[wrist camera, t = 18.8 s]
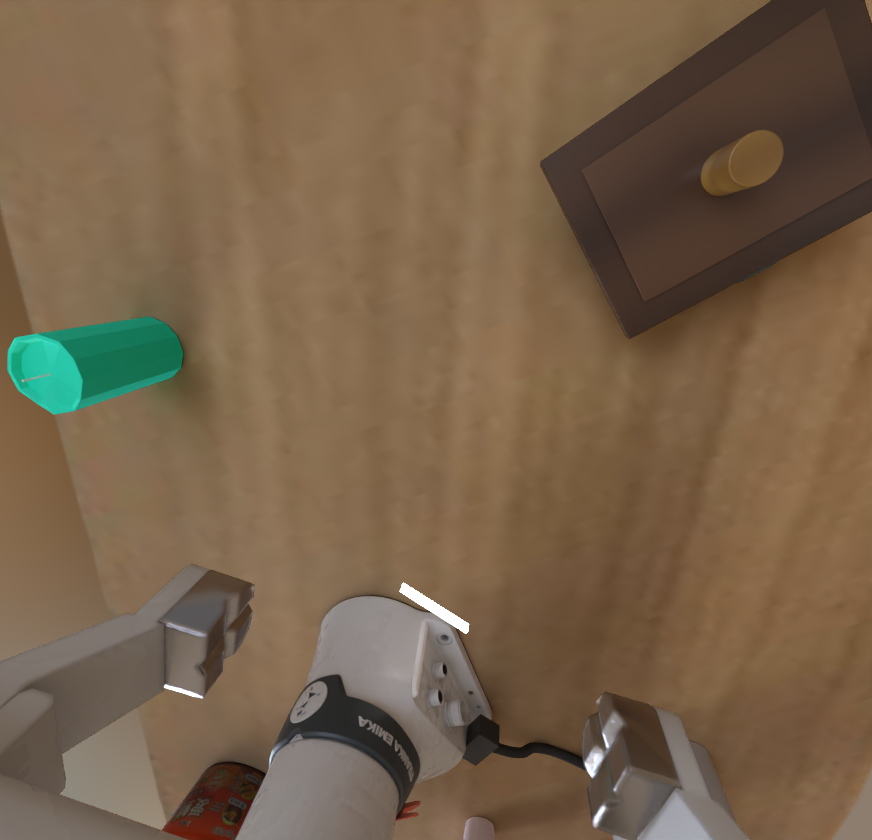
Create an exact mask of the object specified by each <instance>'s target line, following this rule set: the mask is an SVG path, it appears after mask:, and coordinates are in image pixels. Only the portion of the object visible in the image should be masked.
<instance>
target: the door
mask: <svg viewBox="0 0 872 840" xmlns="http://www.w3.org/2000/svg"><path fill="white" fill-rule="evenodd" d="M540 166H541V168H542V170H543V172H544V174H545V176H546V178H547V180H548V182H549V184H550V186H551V188H552V190H553V192H554V194H555V196H556V198H557V200H558V202H559V204H560V206H561V208H562V210H563V212H564V214H565V216H566V218H567V220H568V222H569V224H570V226H571V228H572V230H573V232H574V234H575V236H576V238H577V240H578V242H579V244H580V246H581V248H582V250H583V252H584V254H585V256H586V258H587V260H588V262H589V264H590V266H591V268H592V270H593V272H594V274H595V276H596V278H597V280H598V282H599V284H600V286H601V288H602V290H603V292H604V294H605V296H606V298H607V300H608V302H609V304H610V306H611V308H612V310H613V312H614V314H615V316H616V318H617V320H618V322H619V324H620V326H621V328H622V330H623V332H624V334H625V336H626V337H627V338H629V339H630V338H632V337H634V336H636V335H638V334H640V333H642V332H644V331H646V330H648V329H649V328H651V327H653V326H655V325H657V324H659V323H661V322H663V321H665V320H667V319H668V318H670V317H672V316H674V315H676V314H678V313H680V312H682V311H684V310H686V309H687V308H689V307H691V306H693V305H695V304H697V303H699V302H701V301H703V300H705V299H706V298H708V297H710V296H712V295H714V294H716V293H718V292H720V291H722V290H724V289H725V288H727V287H729V286H731V285H733V284H735V283H737V282H739V281H741V280H743V279H744V278H746V277H748V276H750V275H752V274H754V273H756V272H758V271H760V270H762V269H763V268H765V267H767V266H769V265H771V264H773V263H775V262H777V261H779V260H781V259H782V258H784V257H786V256H788V255H790V254H792V253H794V252H796V251H798V250H800V249H801V248H803V247H805V246H807V245H809V244H811V243H813V242H815V241H817V240H819V239H820V238H822V237H824V236H826V235H828V234H830V233H832V232H834V231H836V230H838V229H839V228H841V227H843V226H845V225H847V224H849V223H851V222H853V221H855V220H856V219H858V218H860V217H862V216H864V215H866V214H868V213H870V212H872V23H871V20H870V17H869V13H868V10H867V7H866V4H865V0H772V1H770V2H769V3H767V4H766V5H764V6H763V7H762V8H760V9H759V10H757V11H756V12H754V13H753V14H751V15H750V16H749V17H747V18H746V19H744V20H743V21H741V22H740V23H739V24H737V25H736V26H734V27H733V28H731V29H730V30H729V31H727V32H726V33H724V34H723V35H721V36H720V37H719V38H717V39H716V40H714V41H713V42H711V43H710V44H708V45H707V46H706V47H704V48H703V49H701V50H700V51H698V52H697V53H696V54H694V55H693V56H691V57H690V58H688V59H687V60H686V61H684V62H683V63H681V64H680V65H678V66H677V67H676V68H674V69H673V70H671V71H670V72H668V73H667V74H666V75H664V76H663V77H661V78H660V79H658V80H657V81H655V82H654V83H653V84H651V85H650V86H648V87H647V88H645V89H644V90H643V91H641V92H640V93H638V94H637V95H635V96H634V97H633V98H631V99H630V100H628V101H627V102H625V103H624V104H623V105H621V106H620V107H618V108H617V109H615V110H614V111H612V112H611V113H610V114H608V115H607V116H605V117H604V118H602V119H601V120H600V121H598V122H597V123H595V124H594V125H592V126H591V127H590V128H588V129H587V130H585V131H584V132H582V133H581V134H580V135H578V136H577V137H575V138H574V139H572V140H571V141H569V142H568V143H567V144H565V145H564V146H562V147H561V148H559V149H558V150H557V151H555V152H554V153H552V154H551V155H549V156H548V157H547V158H545V159H544V160H542V161H541V163H540Z"/></svg>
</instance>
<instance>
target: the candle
mask: <svg viewBox="0 0 872 840" xmlns="http://www.w3.org/2000/svg"><path fill="white" fill-rule="evenodd" d="M182 359H183V350H182V348H181V345H180V342H179V339H178V336H177V335H176V334H175V333H174V332H173V331H172V330H171V329H170V328H169V326H168V325H167V324H166V323H164V322H162V321H159V320H157V319H154V318H152V317H144V318H137V319H131V320H124V321H117V322H111V323H104V324H98V325H91V326H84V327H78V328H71V329H65V330H58V331H52V332H45V333H38V334H33V335H27V336H21V337H16V338H15V339H14V341H13V343H12V345H11V346H10V348H9V350H8V372H9V374H10V376H11V378H12V380H13V381H14V383H15V385H16V387H17V389H18V390H19V391H20V392H21V393H23V394H24V395H26V396H27V397H28V398H30V399H31V400H33V401H34V402H36V403H37V404H38V405H40V406H42V407H43V408H45V409H46V410H48V411H50V412H51V413H53V414H60V413H66V412H71V411H76V410H79V409H82V408H84V407H87V406H90V405H93V404H96V403H99V402H102V401H105V400H108V399H111V398H114V397H117V396H120V395H122V394H125V393H128V392H131V391H134V390H137V389H140V388H143V387H146V386H149V385H152V384H155V383H157V382H160V381H163V380H166V379H169V378H172V377H173V376H174V375H175V374H176V373H177V372H178V371H179V370H180V369H181V366H182Z"/></svg>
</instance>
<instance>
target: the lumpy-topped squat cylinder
mask: <svg viewBox="0 0 872 840" xmlns="http://www.w3.org/2000/svg"><path fill="white" fill-rule="evenodd" d="M689 742H690V745H691V747H692V750H693V753H694V755H695V758H696V761H697V763H698V766H699V768H700V771H701V774H702V776H703V779H704V781H705V784H706V787H707V789H708V792H709V795H710V797H711V799H713V800H716V801H718V802H720V804H721V805H722V806H723V807H724V808H725V810H726V811H727V812H728V813H729V814H730V816H731V817H732V818H733V819H734V820H735V817H734V815H733V812H732V810H731V807H730V805H729V802H728V800H727V797H726V795H725V792H724V790H723V787H722V785H721V782H720V780H719V777H718V775H717V772H716V770H715V767H714V765H713V763H712V760H711V758H710V755H709V753H708V751H707V750H706V749H705V748H704V747H703V746H702V745H700V744H698V743H695V742H692V741H689ZM735 822H736V820H735ZM736 823H737V822H736ZM613 839H614V840H627V839H624V838H621V837H619V836H616V835H613Z"/></svg>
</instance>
